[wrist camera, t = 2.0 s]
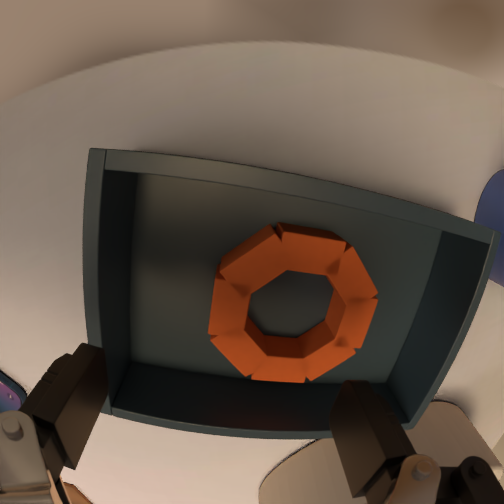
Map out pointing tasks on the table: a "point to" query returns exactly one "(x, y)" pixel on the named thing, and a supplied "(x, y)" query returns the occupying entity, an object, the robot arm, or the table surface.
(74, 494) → the pad
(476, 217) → the water bottle
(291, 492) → the container
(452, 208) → the table surface
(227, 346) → the ring
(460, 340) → the tray
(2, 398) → the smartphone
